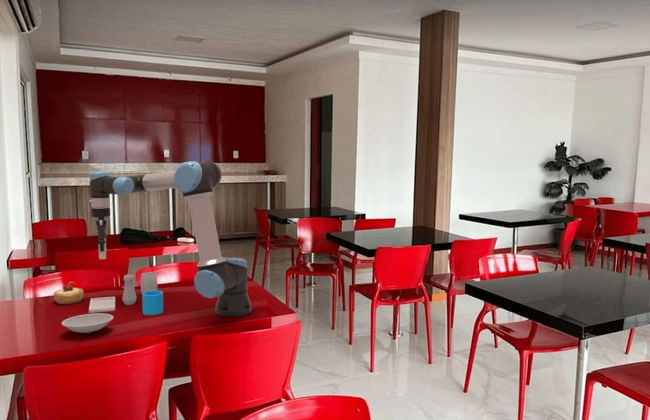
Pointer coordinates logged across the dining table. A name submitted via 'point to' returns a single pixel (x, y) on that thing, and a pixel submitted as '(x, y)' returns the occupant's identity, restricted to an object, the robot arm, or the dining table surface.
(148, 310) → the mug
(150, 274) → the tea bag
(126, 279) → the salt shaker
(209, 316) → the dining table surface
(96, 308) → the tray
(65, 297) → the pastry
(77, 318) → the dish
